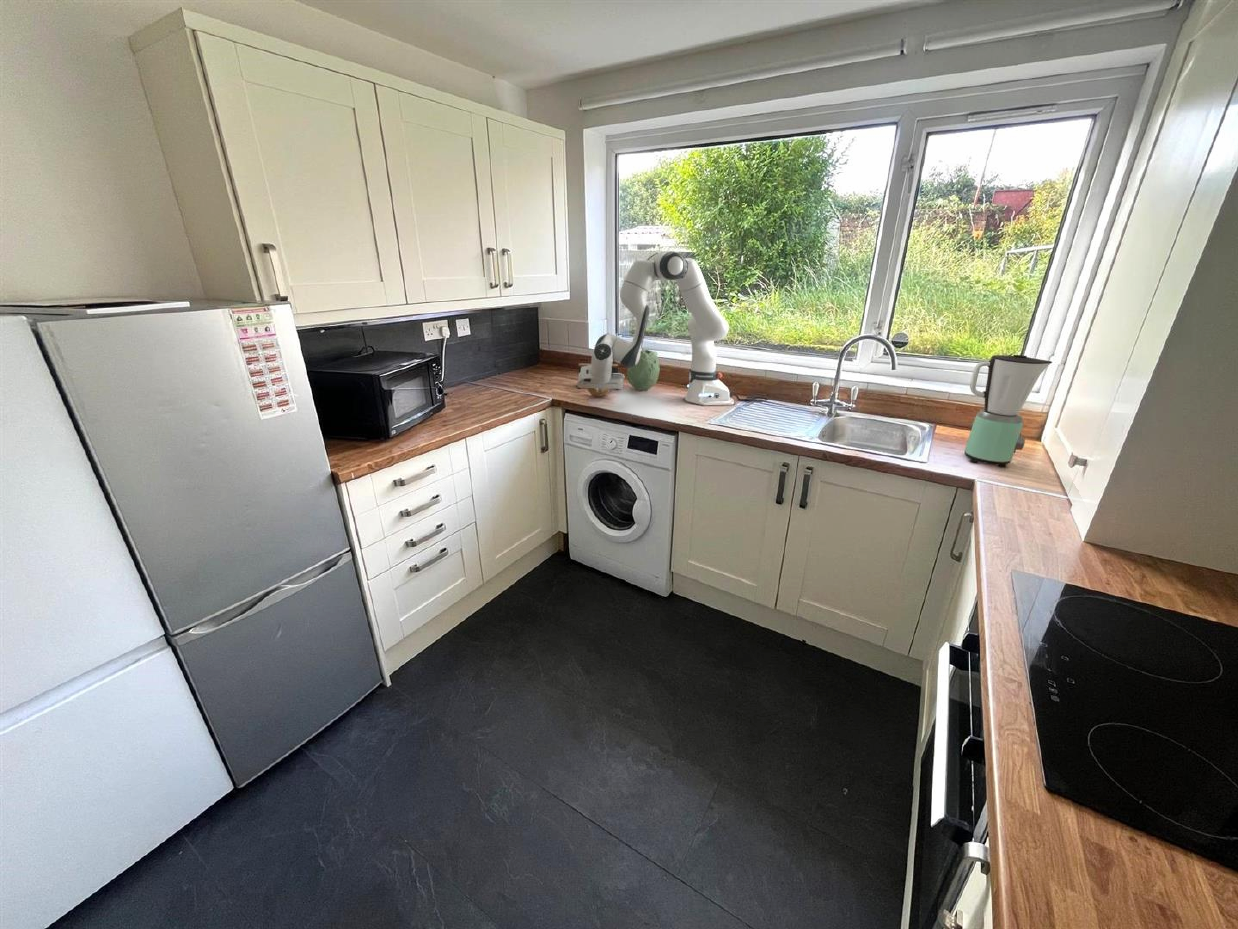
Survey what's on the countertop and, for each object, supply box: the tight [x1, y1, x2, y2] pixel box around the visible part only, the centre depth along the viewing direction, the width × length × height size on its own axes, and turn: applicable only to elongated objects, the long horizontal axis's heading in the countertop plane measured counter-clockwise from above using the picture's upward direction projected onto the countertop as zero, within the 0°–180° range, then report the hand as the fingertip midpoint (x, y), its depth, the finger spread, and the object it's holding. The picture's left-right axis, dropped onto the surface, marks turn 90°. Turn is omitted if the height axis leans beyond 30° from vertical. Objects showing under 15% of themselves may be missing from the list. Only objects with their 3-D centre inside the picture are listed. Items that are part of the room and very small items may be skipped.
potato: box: [587, 388, 611, 398], centre depth 232 cm, size 10×14×8 cm
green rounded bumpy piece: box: [626, 347, 661, 392], centre depth 245 cm, size 16×19×20 cm
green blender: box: [964, 354, 1053, 469], centre depth 161 cm, size 19×13×35 cm
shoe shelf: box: [577, 362, 619, 391], centre depth 250 cm, size 20×9×11 cm, turn 94°
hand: (599, 390), depth 225 cm, fingers closed
